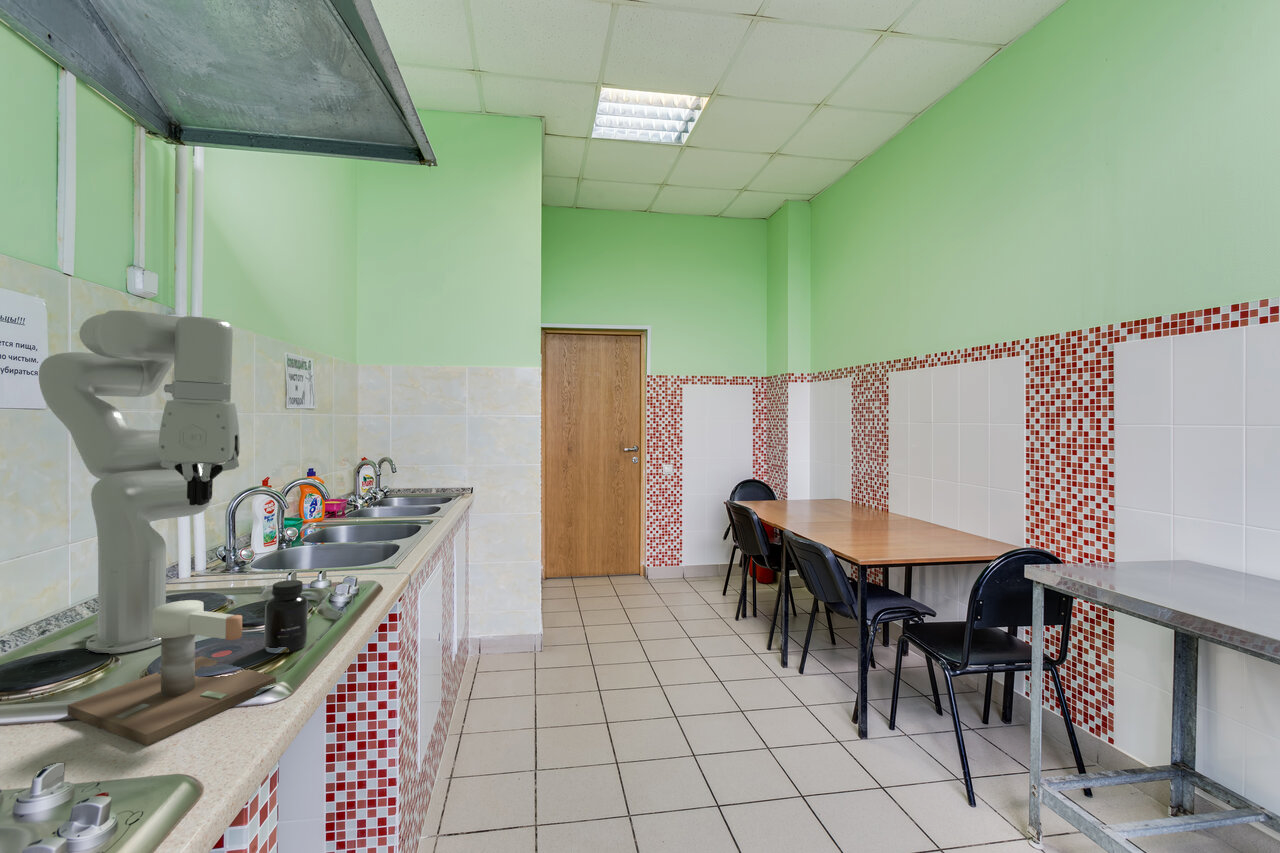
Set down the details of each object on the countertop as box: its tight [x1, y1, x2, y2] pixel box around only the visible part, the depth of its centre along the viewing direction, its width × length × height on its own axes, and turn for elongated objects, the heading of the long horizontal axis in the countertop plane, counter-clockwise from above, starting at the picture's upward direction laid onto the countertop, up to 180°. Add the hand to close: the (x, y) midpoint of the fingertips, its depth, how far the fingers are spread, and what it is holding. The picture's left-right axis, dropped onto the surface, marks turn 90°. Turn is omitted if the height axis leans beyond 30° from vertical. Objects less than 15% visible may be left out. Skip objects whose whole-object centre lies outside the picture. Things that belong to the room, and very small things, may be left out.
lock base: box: [67, 634, 277, 747], centre depth 88 cm, size 18×18×10 cm
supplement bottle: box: [263, 579, 309, 653], centre depth 108 cm, size 7×7×12 cm
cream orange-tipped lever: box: [153, 599, 243, 641], centre depth 87 cm, size 14×6×4 cm, turn 78°
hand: (199, 503), depth 96 cm, fingers closed
